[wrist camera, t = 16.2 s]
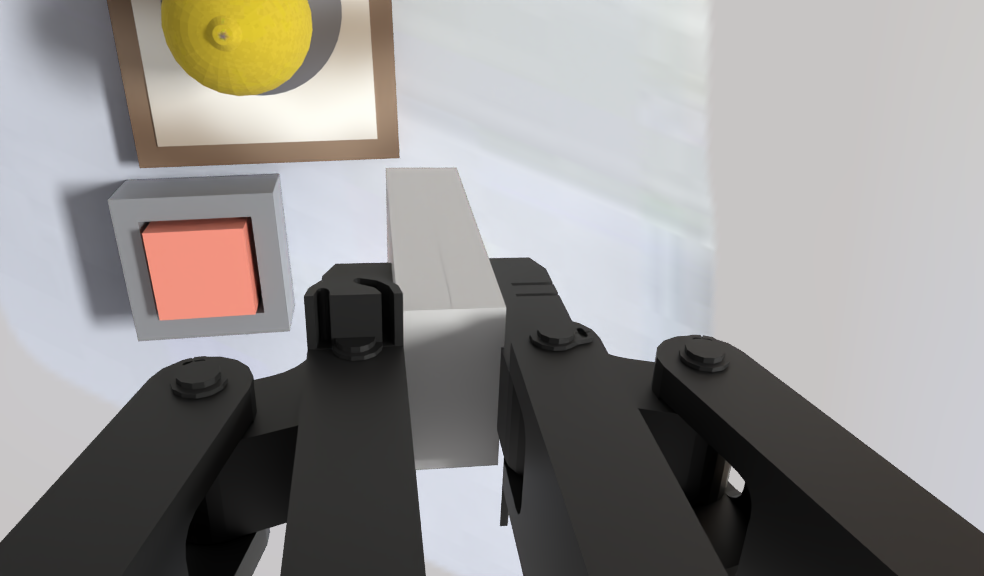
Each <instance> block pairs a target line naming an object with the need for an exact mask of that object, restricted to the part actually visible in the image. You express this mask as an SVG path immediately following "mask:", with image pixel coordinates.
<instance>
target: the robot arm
mask: <svg viewBox="0 0 984 576" xmlns="http://www.w3.org/2000/svg"><path fill="white" fill-rule="evenodd" d="M386 201H387V254H388V263H352V264H335V265H334V266H333V267H332V268H331V269H330V270H329V271H327V272H326V273H325V274H324V275H323V276H322V281H319V282H318V283H316V284H314V285H313V286H311V287H310V288H309V289H308V290H307V292H306V294H305V295H304V304H305V318H306V332H307V346H308V351H307V359H306V360H305V361H304V362H303V363H301V364H300V365H298V366H297V367H295V368H293V369H290V370H288V371H286V372H284V373H280V374H277V375H273V376H270V377H265V378H261V379H256V380H254V379H253V375H252V373H251V371H250V369H249V367H248V366H246V365H245V364H243V363H241V362H239V361H238V360H234V359H229V358H224V357H206V356H201V357H194V358H193V359H192V358H189V359H185V360H182V361H180V362H177V363H175V364H172V365H170V366H168V367H165V368H163V369H161V370H160V371H159V372H157V373H156V374H155V375H154V376H152V377H151V378H150V379H149V380H148V381H147V382H146V383H145V384H144V385H143V386H142V387H141V389H140V390H139V391H138V392H137V393H136V394H135V395H134V396H133V397H132V398H131V399H130V401H129V402H128V403H127V404H126V405H125V406H124V407H123V408H122V409H121V410H120V412H119V413H118V414H117V415H116V416H115V417H114V418H113V419H112V420H111V422H110V423H109V424H108V425H107V426H106V427H105V428H104V429H103V430H102V431H101V432H100V434H99V435H98V436H97V437H96V438H95V439H94V440H93V441H92V442H91V444H90V445H89V446H88V447H87V448H86V449H85V450H84V451H83V452H82V453H81V454H80V456H79V457H78V458H77V459H76V460H75V461H74V462H73V463H72V464H71V465H70V467H69V468H68V469H67V470H66V471H65V472H64V473H63V474H62V475H61V476H60V477H59V479H58V480H57V481H56V482H55V483H54V484H53V485H52V486H51V487H50V488H49V490H48V491H47V492H46V493H45V494H44V495H43V496H42V497H41V498H40V500H39V501H38V502H37V503H36V504H35V505H34V506H33V507H32V508H31V509H30V510H29V512H28V513H27V514H26V515H25V516H24V517H23V518H22V519H21V521H20V522H19V523H18V524H17V525H16V526H15V527H14V528H13V529H12V530H11V531H10V532H9V534H8V535H7V536H6V537H5V538H4V539H3V540H2V541H1V542H0V576H252V575H253V573H254V571H255V568H256V567H257V564H258V562H259V560H260V558H261V556H262V554H263V552H264V550H265V548H266V546H267V542H268V538H269V533H270V527H274V526H277V525H280V524H284V523H287V525H286V533H285V542H284V550H283V558H282V567H281V575H280V576H426V574H425V563H424V553H423V542H422V532H421V521H420V511H419V501H418V490H417V480H416V470H424V469H440V468H457V467H473V466H489V465H498V451H499V439H500V443H501V447H502V451H503V455H504V467H503V484H502V501H501V518H500V526H507V524H508V515H509V516H510V521H511V525H512V529H513V533H514V538H515V542H516V546H517V551H518V555H519V559H520V563H521V568H522V572H523V576H984V533H982V532H981V531H980V530H978V529H977V528H976V527H974V526H973V525H972V524H971V523H969V522H968V521H967V520H965V519H964V518H962V517H961V516H960V515H959V514H957V513H956V512H955V511H953V510H952V509H951V508H949V507H948V506H947V505H945V504H944V503H943V502H941V501H940V500H938V499H937V498H936V497H935V496H933V495H932V494H931V493H929V492H928V491H927V490H925V489H924V488H923V487H921V486H920V485H919V484H918V483H916V482H915V481H913V480H912V479H911V478H910V477H908V476H907V475H905V474H904V473H903V472H902V471H900V470H899V469H898V468H896V467H895V466H894V465H892V464H891V463H890V462H888V461H887V460H886V459H884V458H883V457H882V456H880V455H879V454H878V453H876V452H875V451H874V450H872V449H871V448H870V447H868V446H867V445H865V444H864V443H863V442H862V441H861V440H859V439H858V438H856V437H855V436H854V435H853V434H851V433H850V432H849V431H847V430H846V429H845V428H843V427H842V426H841V425H839V424H838V423H837V422H835V421H834V420H833V419H831V418H830V417H829V416H827V415H826V414H825V413H823V412H822V411H821V410H819V409H818V408H817V407H815V406H814V405H813V404H811V403H810V402H809V401H807V400H806V399H805V398H803V397H802V396H801V395H800V394H798V393H797V392H795V391H794V390H793V389H792V388H790V387H789V386H788V385H786V384H785V383H784V382H782V381H781V380H780V379H778V378H777V377H775V376H774V375H773V374H771V373H770V372H769V371H768V370H766V369H765V368H764V367H762V366H761V365H760V364H758V363H757V362H756V361H754V360H753V359H752V358H750V357H749V356H748V355H746V354H745V353H744V352H742V351H741V350H739V349H737V348H736V347H734V346H732V345H730V344H728V343H726V342H722V341H720V340H716V339H715V338H713V337H709V336H703V337H701V335H690V336H677V337H674V338H671V339H668V340H665V341H663V342H662V343H661V344H660V345H659V346H658V347H657V352H656V358H655V362H649V361H641V360H634V359H627V358H622V357H617V356H613V355H610V354H608V352H607V350H606V348H605V347H604V345H603V343H602V341H601V339H600V338H599V337H598V335H597V334H596V333H595V332H594V331H593V330H592V329H590V328H588V327H586V326H584V325H582V324H580V323H577V322H573V321H572V320H571V318H570V316H569V314H568V312H567V310H566V308H565V306H564V304H563V302H562V300H561V298H560V296H559V295H558V292H557V290H556V288H555V286H554V284H553V285H552V280H551V278H550V276H549V274H548V272H547V270H546V269H545V268H544V267H542V266H541V265H539V264H538V263H536V262H535V261H533V260H532V259H530V258H488V255H487V252H486V249H485V246H484V244H483V241H482V238H481V235H480V232H479V229H478V227H477V224H476V221H475V218H474V215H473V213H472V210H471V207H470V204H469V201H468V199H467V196H466V193H465V190H464V187H463V185H462V182H461V179H460V176H459V173H458V170H457V168H386ZM731 466H732V467H733V468H734V469H735V470H736V471H737V472H738V473H739V474H740V476H741V477H742V478H743V479H744V481H745V485H744V489H743V492H742V493H741V492H739V491H738V490H736V489H735V488H734V487H733V486H732V485H731V484H730V483H729V482H728V478H729V473H730V469H731Z"/></svg>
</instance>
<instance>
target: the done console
mask: <svg viewBox="0 0 984 576" xmlns="http://www.w3.org/2000/svg"><path fill="white" fill-rule="evenodd" d="M108 205H109V210H110V214H111V219H112V223H113V228H114V232H115V237H116V242H117V246H118V251H119V255H120V260H121V264H122V269H123V274H124V278H125V283H126V287H127V292H128V296H129V301H130V305H131V310H132V315H133V319H134V324H135V328H136V333H137V337H138V341H150V340H165V339H180V338H195V337H210V336H225V335H240V334H255V333H270V332H285V331H290V328H291V323H292V317H293V312H294V307H295V302H294V293H293V285H292V276H291V268H290V260H289V251H288V243H287V234H286V226H285V218H284V209H283V201H282V192H281V184H280V176H279V174H265V175H240V176H216V177H191V178H167V179H142V180H126V181H125V182H124V183H123V184H122V185H121V186H120V187H119V188H118V189H117V190H116V191H115V192H114V194H113V195H112V196H111V197H110V198H109V199H108ZM232 217H251V219H252V226H253V233H254V241H255V248H256V255H257V262H258V270H259V277H260V284H261V291H262V293H261V297H260V300H259V304H258V308H257V311H256V314H255V315H239V316H223V317H208V318H192V319H176V320H160V319H159V315H158V310H157V305H156V300H155V295H154V290H153V285H152V280H151V275H150V270H149V265H148V260H147V255H146V250H145V246H144V241H143V236H142V233H143V231H144V230H145V229H146V227H147V226H148V225H149V223H150V222H151V221H169V220H190V219H211V218H232Z"/></svg>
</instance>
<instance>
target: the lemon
mask: <svg viewBox="0 0 984 576" xmlns="http://www.w3.org/2000/svg"><path fill="white" fill-rule="evenodd" d="M161 25H162V29H163V33H164V36H165V40H166V44H167V46H168V48H169V49H170V51H171V53H172V55H173V57H174V59H175V60H176V62H177V63H178V64H179V65H180V66H181V67H182V68H183V70H184V71H185V72H186V73H187V74H188V75H189V76H191V77H192V78H193V79H195V80H196V81H198V82H199V83H200V84H202V85H203V86H205V87H208V88H210V89H212V90H215V91H217V92H219V93H223V94H229V95H235V96H248V95H258V94H261V93H264V92H267V91H270V90H273V89H275V88H277V87H279V86H280V85H281V84H283V83H284V82H286V81H287V80H289V79H290V78H291V77H292V76H293V75H294V73H295V72H296V71H297V70H298V69H299V67H300V66H301V65H302V63H303V61H304V59H305V57H306V55H307V52H308V50H309V47H310V42H311V36H312V31H313V29H312V16H311V10H310V7H309V4H308V1H307V0H162V4H161Z"/></svg>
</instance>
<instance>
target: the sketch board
mask: <svg viewBox="0 0 984 576" xmlns="http://www.w3.org/2000/svg"><path fill="white" fill-rule="evenodd" d="M307 1H308V4H309V7H310V10H311V16H312V29H313V31H312V36H311V42H310V47H309V50H308V52H307V55H306V57H305V59H304V61H303V63H302V65H301V66H300V67H299V69H298V70H297V71H296V72H295V73H294V75H293V76H292V77H291V78H290V79H289V80H287V81H286V82H284V83H283V84H281V85H280V86H279V87H277V88H275V89H273V90H270V91H267V92H264V93H261V94H258V95H248V96H235V95H229V94H223V93H219V92H217V91H215V90H212V89H210V88H208V87H205V86H203V85H202V84H200V83H199V82H198V81H196V80H195V79H193V78H192V77H191V76H189V75H188V74H187V73H186V72H185V71H184V70H183V68H182V67H181V66H180V65H179V64H178V63H177V62H176V60H175V59H174V57H173V55H172V53H171V51H170V49H169V48H168V46H167V44H166V40H165V36H164V33H163V29H162V25H161V4H162V0H107V4H108V9H109V14H110V19H111V24H112V29H113V34H114V39H115V44H116V49H117V55H118V60H119V65H120V70H121V75H122V80H123V85H124V90H125V95H126V100H127V105H128V110H129V116H130V121H131V126H132V131H133V136H134V141H135V146H136V151H137V156H138V161H139V166H140V168H156V167H181V166H207V165H233V164H259V163H284V162H310V161H336V160H361V159H387V158H399V139H398V119H397V100H396V80H395V61H394V41H393V22H392V2H391V0H307Z"/></svg>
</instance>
